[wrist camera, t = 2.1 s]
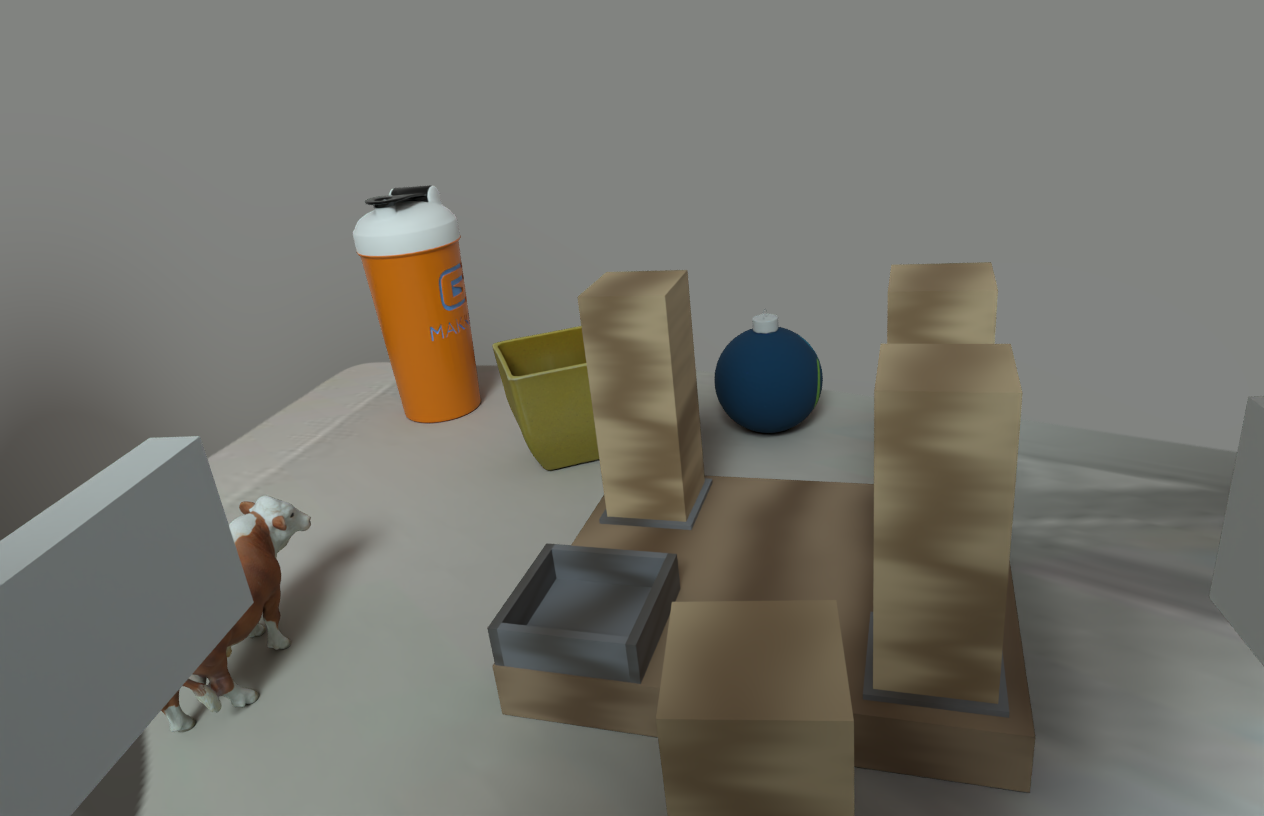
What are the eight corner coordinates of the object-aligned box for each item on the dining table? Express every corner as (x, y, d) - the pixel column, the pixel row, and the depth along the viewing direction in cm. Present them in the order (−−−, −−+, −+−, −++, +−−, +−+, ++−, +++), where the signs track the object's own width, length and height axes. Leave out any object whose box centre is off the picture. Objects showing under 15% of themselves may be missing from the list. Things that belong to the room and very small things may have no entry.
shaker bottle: (380, 430, 78) (326, 207, 70) (415, 391, 86) (369, 187, 78) (475, 425, 77) (430, 197, 69) (501, 387, 85) (464, 178, 77)
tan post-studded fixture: (996, 533, 53) (1015, 255, 46) (1029, 792, 36) (1068, 409, 29) (624, 509, 60) (593, 266, 54) (502, 714, 43) (434, 394, 36)
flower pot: (639, 464, 67) (627, 354, 63) (528, 490, 65) (508, 378, 61) (609, 422, 75) (596, 322, 71) (509, 444, 73) (490, 342, 69)
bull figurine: (345, 593, 55) (312, 479, 51) (218, 757, 43) (165, 622, 39) (282, 592, 56) (246, 480, 52) (140, 753, 43) (83, 620, 40)
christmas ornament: (805, 457, 65) (801, 329, 61) (702, 444, 69) (692, 323, 65) (835, 411, 72) (834, 294, 68) (740, 402, 75) (733, 291, 71)
